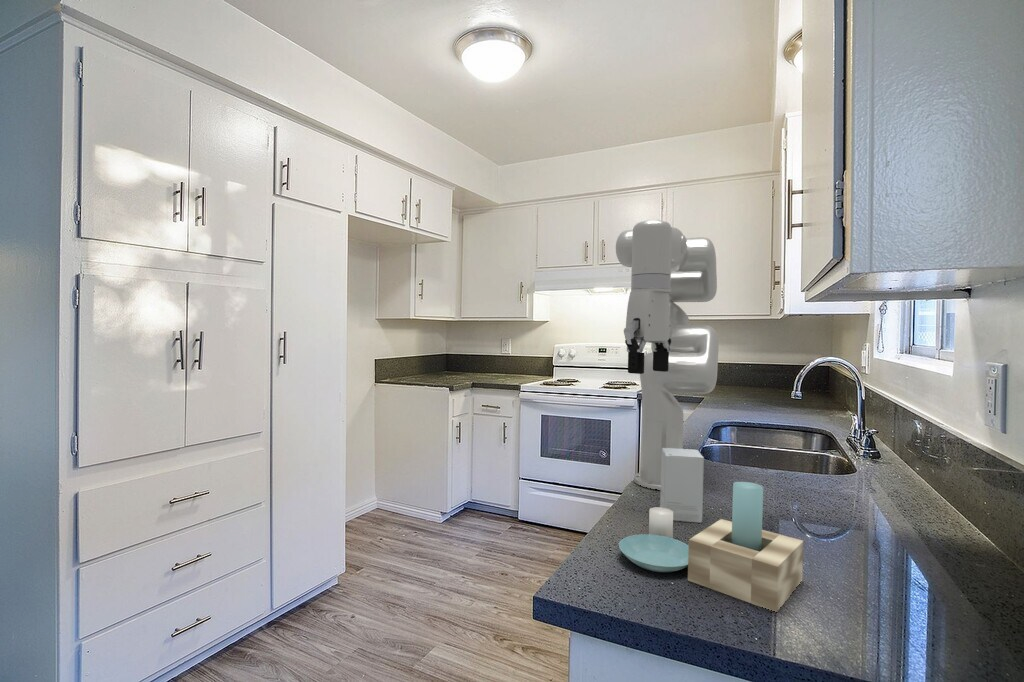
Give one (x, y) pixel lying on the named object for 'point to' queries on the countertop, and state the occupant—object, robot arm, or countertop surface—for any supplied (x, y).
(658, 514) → the short off-white stub
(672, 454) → the supplement box
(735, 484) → the teal dowel
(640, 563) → the saucer
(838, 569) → the countertop surface
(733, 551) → the birch hole block
